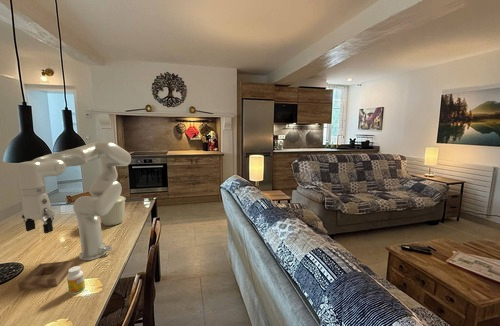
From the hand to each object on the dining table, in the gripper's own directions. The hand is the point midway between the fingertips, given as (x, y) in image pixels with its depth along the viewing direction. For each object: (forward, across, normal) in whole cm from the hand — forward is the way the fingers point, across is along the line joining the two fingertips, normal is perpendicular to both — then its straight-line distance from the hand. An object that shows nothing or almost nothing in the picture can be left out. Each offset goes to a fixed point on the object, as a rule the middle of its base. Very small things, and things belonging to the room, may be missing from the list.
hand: (39, 231), depth 103 cm
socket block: (+24, +3, -3) cm, 24 cm away
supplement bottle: (+24, -18, +1) cm, 30 cm away
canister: (+23, +23, -61) cm, 69 cm away
